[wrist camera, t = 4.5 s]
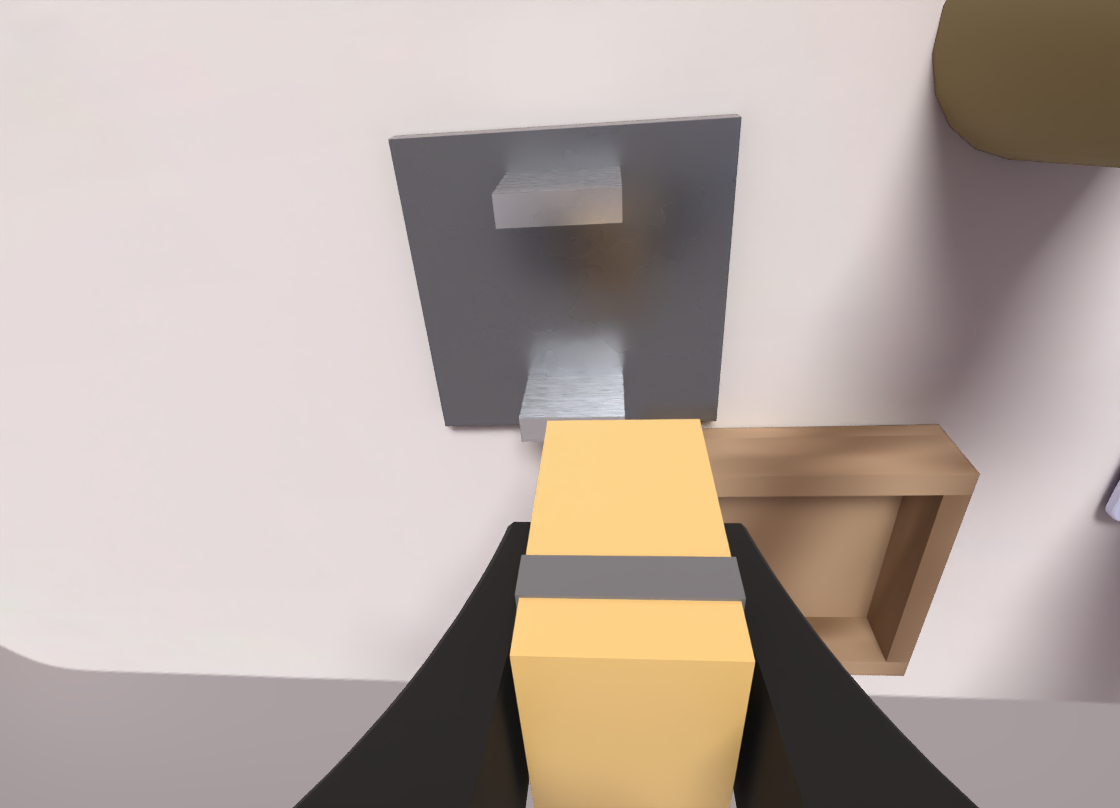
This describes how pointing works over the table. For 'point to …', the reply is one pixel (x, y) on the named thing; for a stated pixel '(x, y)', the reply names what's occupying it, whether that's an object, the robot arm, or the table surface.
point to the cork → (1032, 78)
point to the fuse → (629, 622)
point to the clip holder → (573, 267)
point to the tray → (849, 525)
